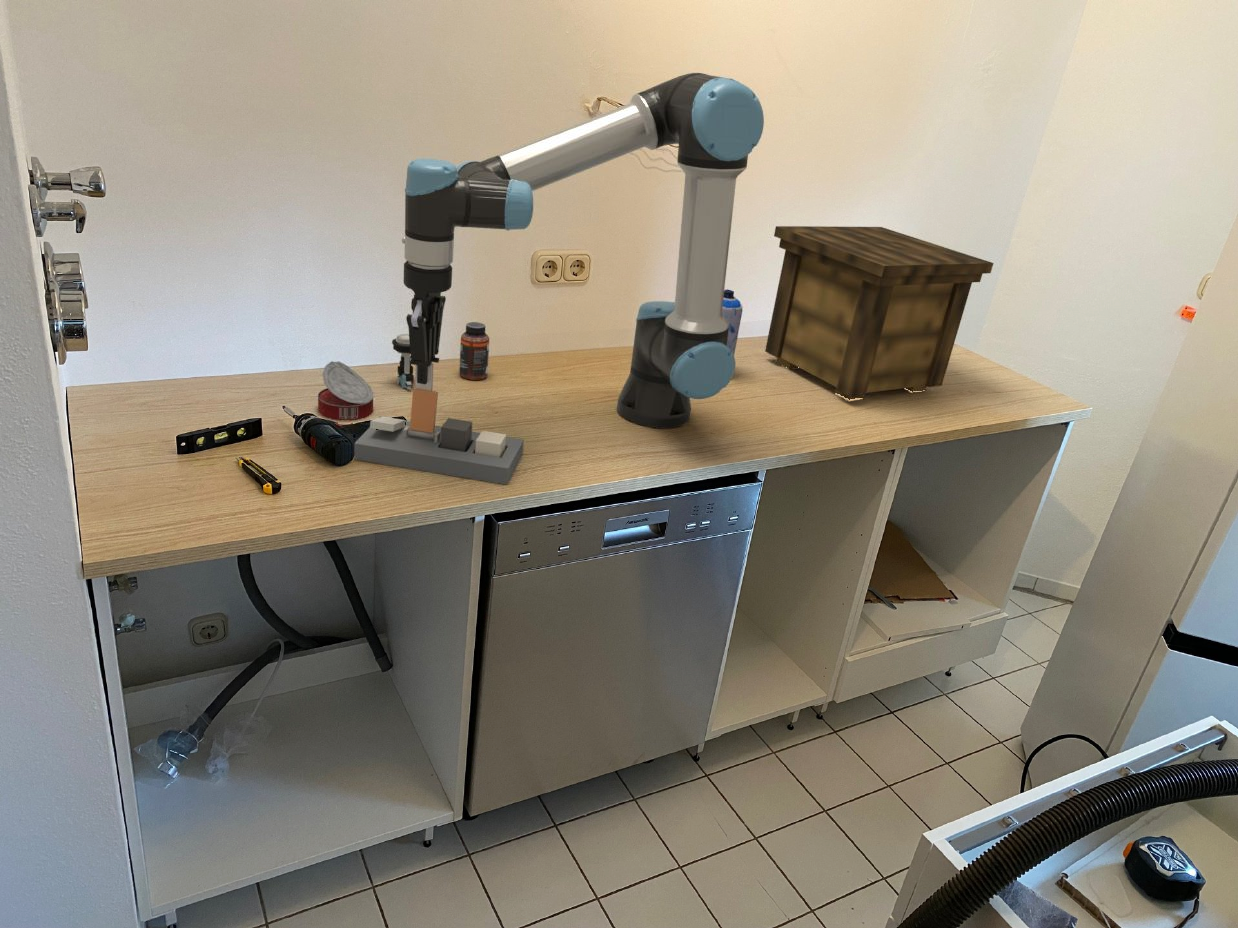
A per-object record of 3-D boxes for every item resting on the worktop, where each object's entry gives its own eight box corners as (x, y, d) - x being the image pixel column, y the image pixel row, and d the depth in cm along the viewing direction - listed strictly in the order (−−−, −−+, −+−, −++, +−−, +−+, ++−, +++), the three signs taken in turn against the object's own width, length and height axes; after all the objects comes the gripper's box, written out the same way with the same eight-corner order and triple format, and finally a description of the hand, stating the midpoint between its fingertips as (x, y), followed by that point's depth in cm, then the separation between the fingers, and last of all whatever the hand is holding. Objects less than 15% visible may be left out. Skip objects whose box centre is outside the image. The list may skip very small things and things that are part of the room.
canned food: (353, 422, 176) (375, 375, 175) (370, 437, 168) (393, 389, 167) (298, 401, 168) (321, 353, 168) (314, 416, 161) (338, 366, 160)
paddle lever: (435, 438, 155) (439, 391, 153) (433, 440, 154) (437, 393, 152) (410, 434, 155) (414, 387, 153) (407, 436, 154) (411, 388, 152)
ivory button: (504, 455, 157) (506, 434, 155) (498, 465, 153) (500, 444, 151) (480, 451, 157) (482, 430, 155) (474, 461, 153) (475, 440, 152)
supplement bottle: (493, 376, 193) (496, 325, 189) (474, 383, 189) (477, 331, 184) (471, 369, 196) (474, 318, 191) (453, 375, 191) (455, 323, 186)
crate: (847, 411, 201) (884, 265, 187) (750, 357, 227) (775, 226, 213) (953, 397, 219) (993, 263, 205) (851, 348, 245) (881, 227, 231)
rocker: (404, 426, 158) (405, 420, 157) (393, 431, 152) (393, 424, 152) (382, 423, 158) (382, 416, 158) (369, 427, 152) (370, 420, 152)
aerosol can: (737, 377, 212) (753, 294, 203) (714, 382, 207) (729, 297, 199) (714, 366, 217) (728, 284, 209) (690, 370, 212) (704, 287, 204)
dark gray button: (471, 442, 157) (472, 421, 155) (464, 452, 153) (465, 431, 151) (447, 439, 157) (448, 417, 155) (440, 448, 153) (441, 427, 151)
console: (522, 455, 161) (524, 432, 159) (507, 484, 150) (509, 460, 148) (379, 431, 162) (380, 409, 160) (354, 459, 151) (354, 435, 149)
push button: (422, 391, 181) (423, 343, 177) (395, 392, 179) (396, 344, 175) (415, 379, 187) (416, 332, 182) (389, 379, 185) (389, 332, 180)
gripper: (418, 249, 149) (414, 381, 160) (391, 268, 138) (388, 409, 149) (462, 257, 149) (455, 389, 159) (439, 277, 137) (433, 417, 148)
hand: (423, 398), depth 154 cm, fingers closed
